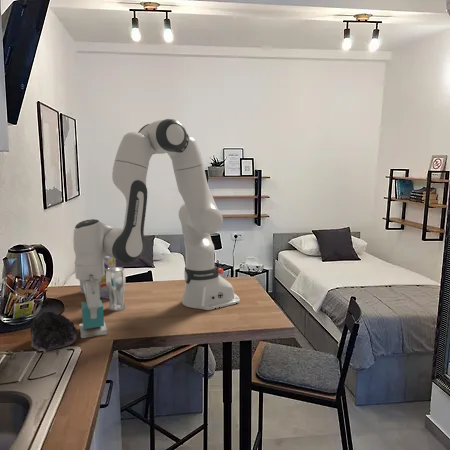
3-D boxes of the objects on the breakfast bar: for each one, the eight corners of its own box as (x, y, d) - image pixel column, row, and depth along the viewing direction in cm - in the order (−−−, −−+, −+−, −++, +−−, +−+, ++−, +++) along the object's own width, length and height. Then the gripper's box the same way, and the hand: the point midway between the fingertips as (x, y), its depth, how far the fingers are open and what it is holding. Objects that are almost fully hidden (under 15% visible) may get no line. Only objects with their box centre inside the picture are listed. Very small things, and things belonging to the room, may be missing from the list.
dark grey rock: (75, 352, 120) (76, 319, 120) (24, 354, 116) (25, 320, 116) (78, 336, 133) (79, 306, 132) (32, 338, 129) (33, 307, 129)
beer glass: (121, 312, 149) (119, 272, 146) (103, 310, 150) (101, 271, 148) (129, 305, 156) (128, 267, 153) (112, 304, 157) (110, 266, 155)
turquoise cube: (102, 318, 137) (101, 300, 135) (104, 325, 131) (103, 306, 130) (82, 321, 134) (81, 302, 133) (83, 329, 129) (82, 309, 127)
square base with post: (104, 324, 138) (103, 300, 137) (107, 334, 131) (106, 308, 129) (79, 328, 135) (78, 303, 134) (81, 338, 128) (79, 312, 126)
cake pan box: (77, 292, 170) (75, 251, 167) (87, 289, 175) (85, 249, 172) (110, 301, 160) (108, 257, 157) (119, 297, 165) (117, 254, 162)
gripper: (104, 279, 121) (106, 323, 123) (97, 262, 140) (99, 301, 142) (81, 281, 119) (84, 326, 121) (77, 264, 137) (80, 303, 140)
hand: (92, 312), depth 132 cm, fingers open, 8 cm apart
